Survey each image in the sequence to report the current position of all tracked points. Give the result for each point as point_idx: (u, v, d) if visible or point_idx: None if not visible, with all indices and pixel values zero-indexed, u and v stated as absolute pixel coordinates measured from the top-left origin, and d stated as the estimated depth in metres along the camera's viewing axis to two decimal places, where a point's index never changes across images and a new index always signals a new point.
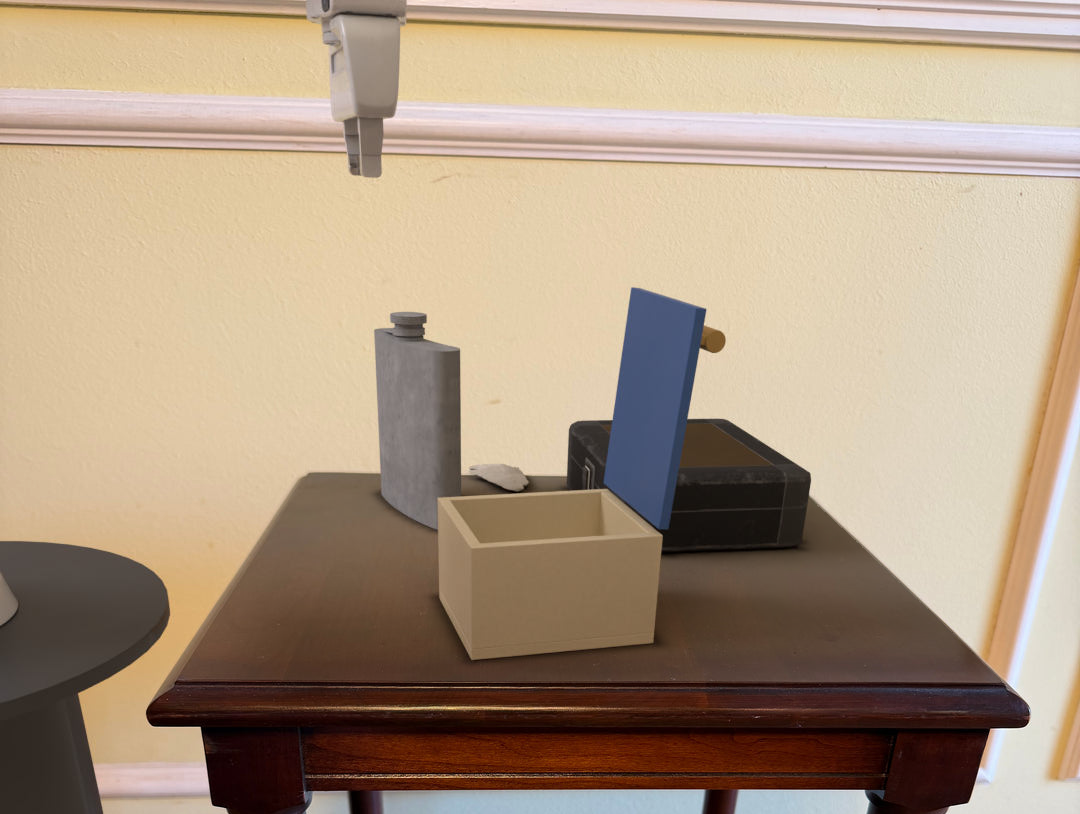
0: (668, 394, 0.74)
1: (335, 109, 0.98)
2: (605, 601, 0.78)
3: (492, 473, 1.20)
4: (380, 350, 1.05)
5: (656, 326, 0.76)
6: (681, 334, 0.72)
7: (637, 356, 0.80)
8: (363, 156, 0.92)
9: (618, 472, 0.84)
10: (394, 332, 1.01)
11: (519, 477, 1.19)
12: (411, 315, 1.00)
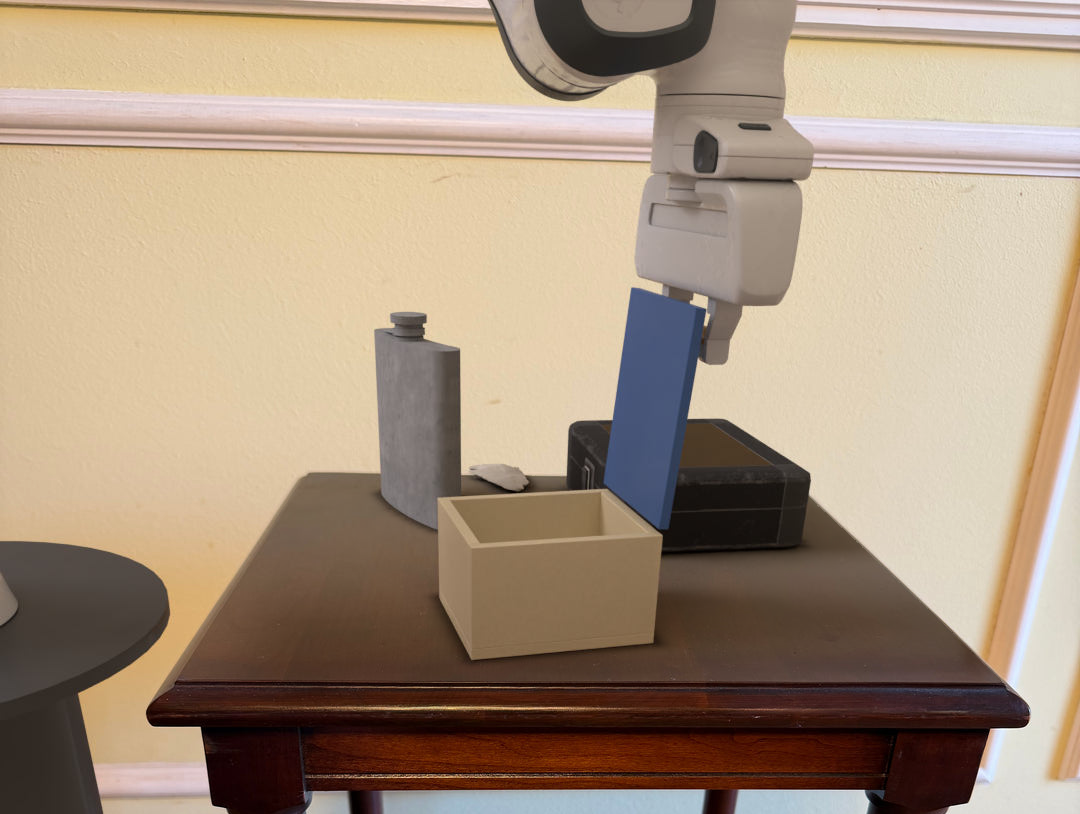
0: (668, 394, 0.74)
1: (654, 269, 0.79)
2: (605, 601, 0.78)
3: (492, 473, 1.20)
4: (380, 350, 1.05)
5: (656, 326, 0.76)
6: (681, 334, 0.72)
7: (637, 356, 0.80)
8: (710, 341, 0.73)
9: (618, 472, 0.84)
10: (394, 332, 1.01)
11: (519, 477, 1.19)
12: (411, 315, 1.00)
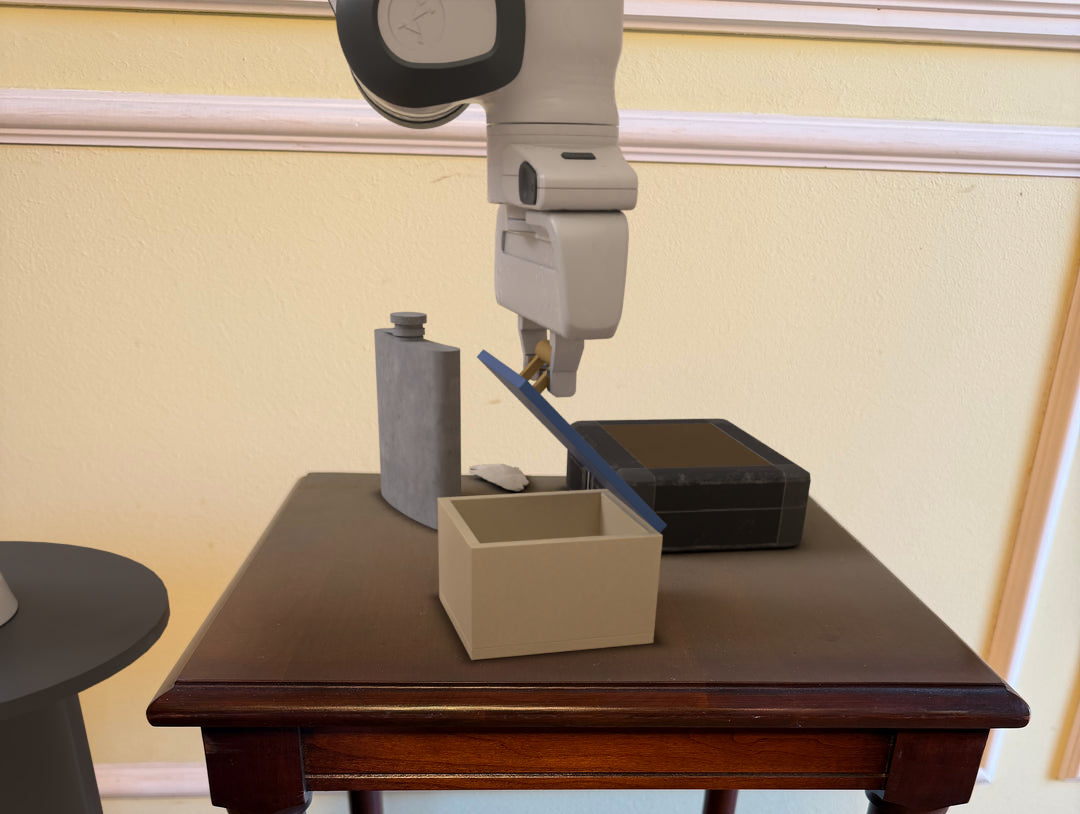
0: (568, 442, 0.74)
1: (507, 298, 0.77)
2: (605, 601, 0.78)
3: (492, 473, 1.20)
4: (380, 350, 1.05)
5: (515, 391, 0.75)
6: (531, 403, 0.71)
7: (528, 407, 0.79)
8: (555, 373, 0.71)
9: None
10: (394, 332, 1.01)
11: (519, 477, 1.19)
12: (411, 315, 1.00)
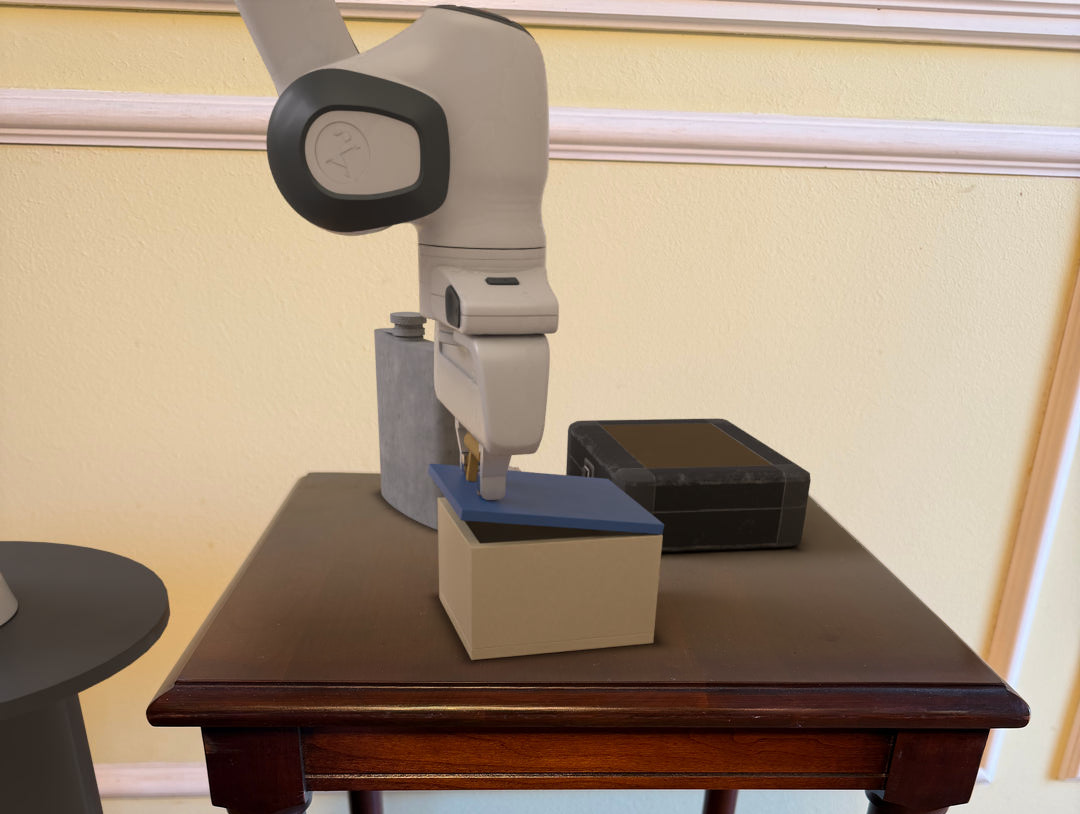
0: None
1: (444, 397, 0.79)
2: (605, 601, 0.78)
3: None
4: (380, 350, 1.05)
5: None
6: None
7: None
8: (484, 478, 0.74)
9: None
10: (394, 332, 1.01)
11: None
12: (411, 315, 1.00)
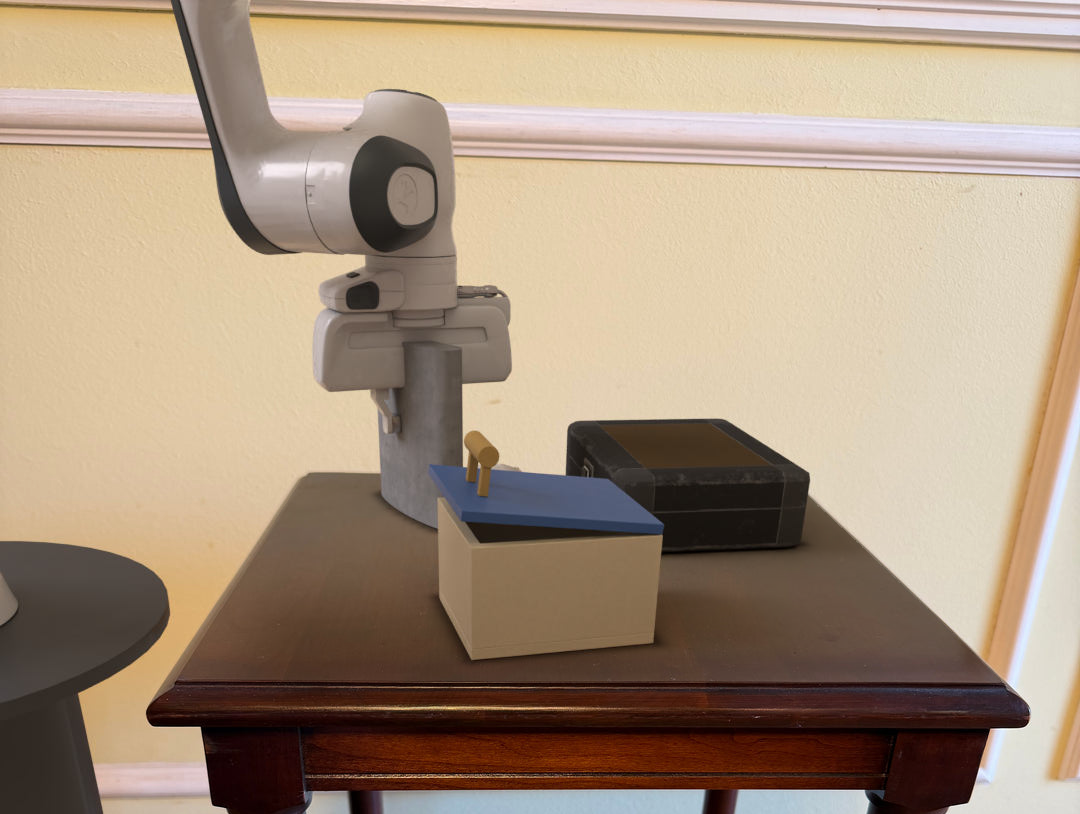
0: None
1: None
2: (605, 601, 0.78)
3: None
4: None
5: None
6: None
7: None
8: (382, 415, 1.05)
9: None
10: None
11: None
12: None
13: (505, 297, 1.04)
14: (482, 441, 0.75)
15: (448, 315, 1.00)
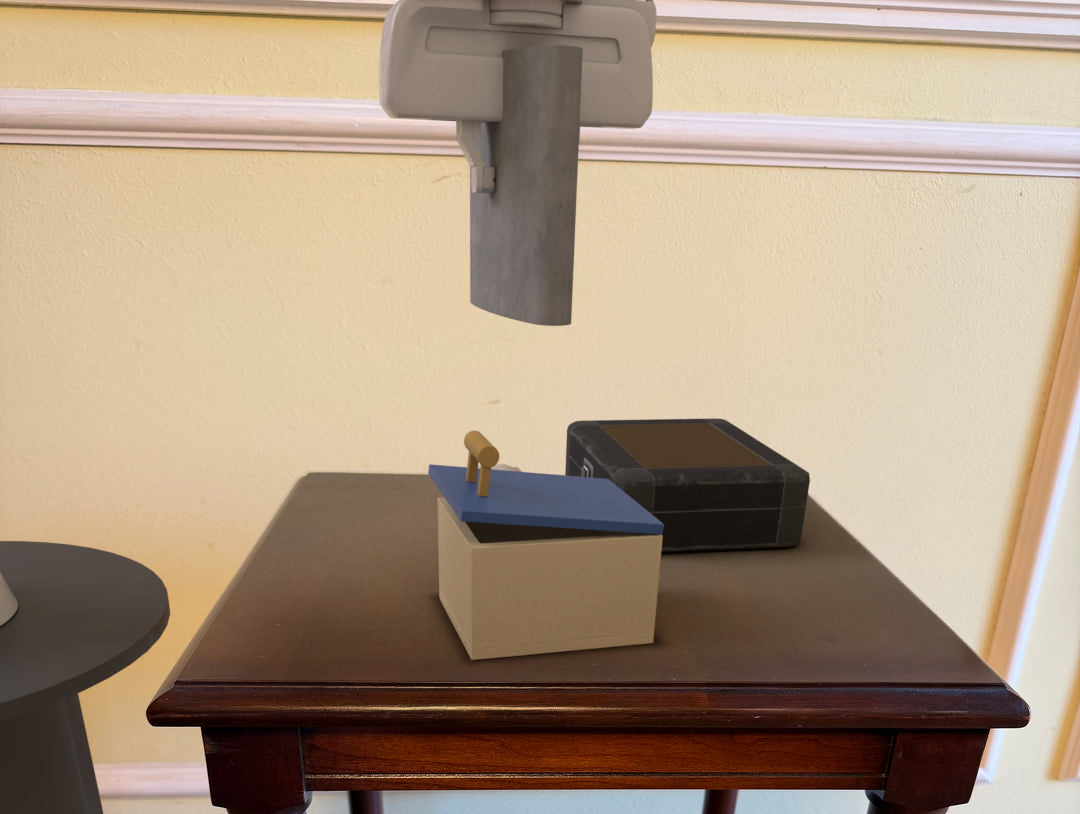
0: None
1: None
2: (605, 601, 0.78)
3: None
4: None
5: None
6: None
7: None
8: None
9: None
10: None
11: None
12: None
13: (650, 1, 0.74)
14: (482, 441, 0.75)
15: (568, 15, 0.72)
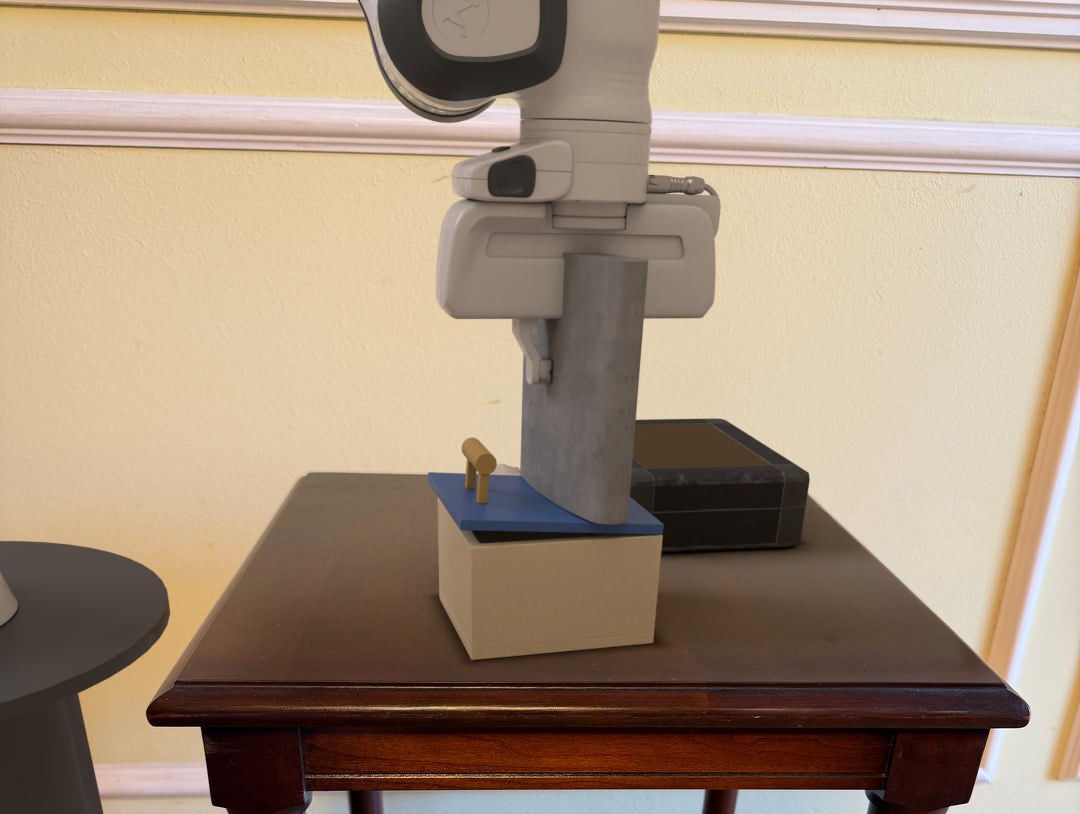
0: None
1: None
2: (605, 601, 0.78)
3: (492, 473, 1.20)
4: None
5: None
6: None
7: None
8: (526, 358, 0.75)
9: None
10: None
11: None
12: None
13: (714, 195, 0.72)
14: (479, 448, 0.76)
15: (631, 215, 0.70)
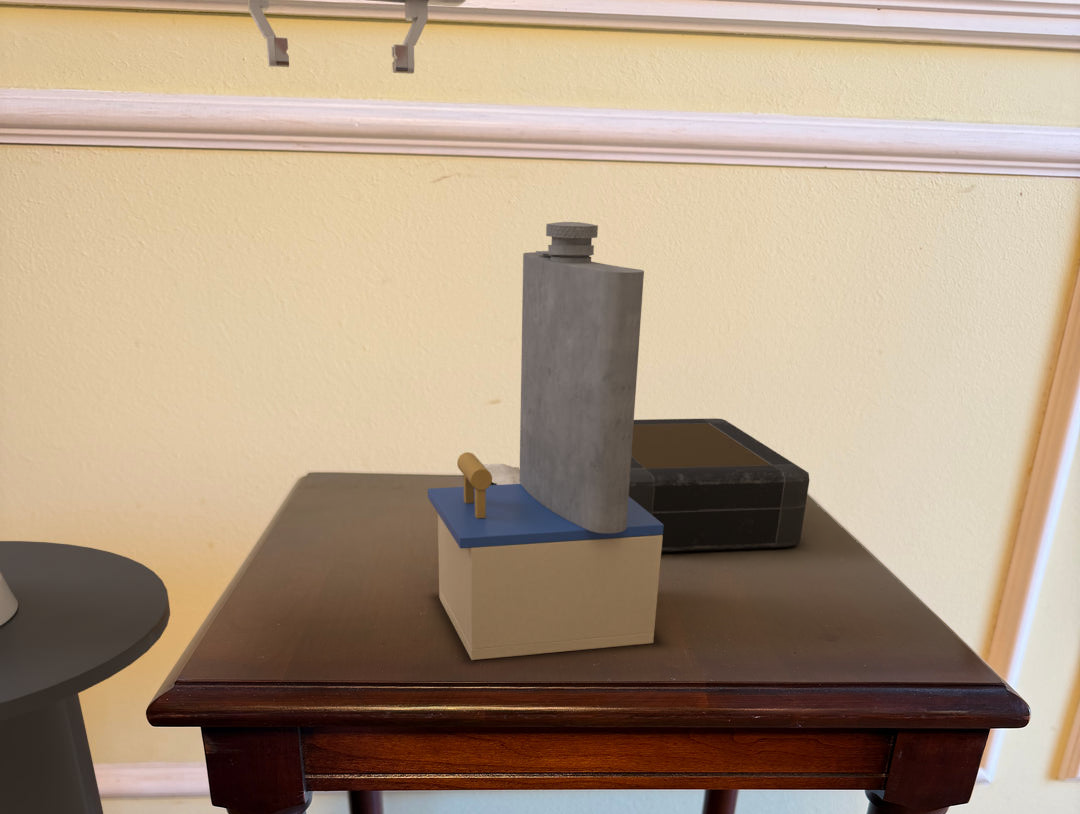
0: None
1: None
2: (605, 601, 0.78)
3: (492, 473, 1.20)
4: (530, 280, 0.76)
5: None
6: None
7: None
8: None
9: None
10: (550, 250, 0.71)
11: None
12: (576, 225, 0.70)
13: None
14: (474, 464, 0.76)
15: None
